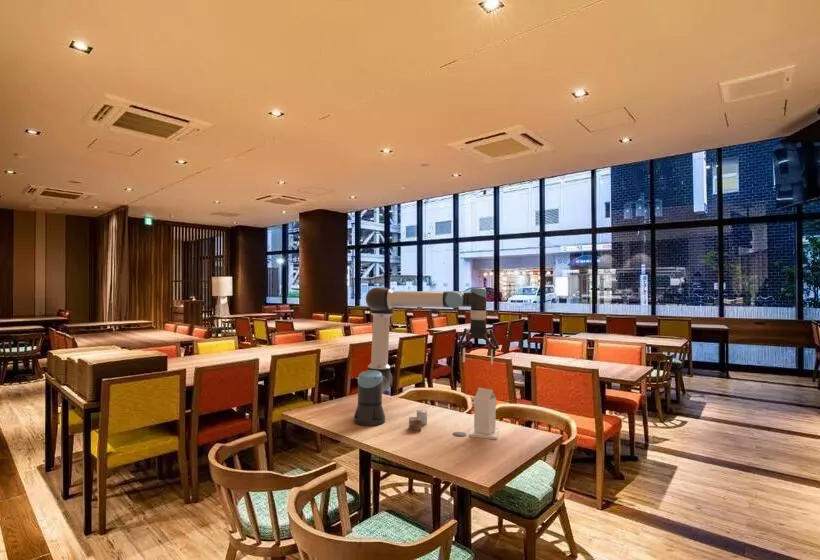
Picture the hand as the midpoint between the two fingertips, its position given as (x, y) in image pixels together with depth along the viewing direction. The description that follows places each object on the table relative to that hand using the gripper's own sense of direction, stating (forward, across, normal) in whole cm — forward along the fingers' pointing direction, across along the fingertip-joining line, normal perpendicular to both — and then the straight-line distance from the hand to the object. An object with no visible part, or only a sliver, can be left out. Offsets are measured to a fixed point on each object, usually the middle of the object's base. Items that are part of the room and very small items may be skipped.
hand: (477, 362), depth 210 cm
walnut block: (+29, +26, +20) cm, 44 cm away
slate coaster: (+29, +6, +20) cm, 36 cm away
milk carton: (+28, -5, +16) cm, 33 cm away
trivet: (+29, -5, +16) cm, 33 cm away
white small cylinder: (+29, +25, +11) cm, 40 cm away
